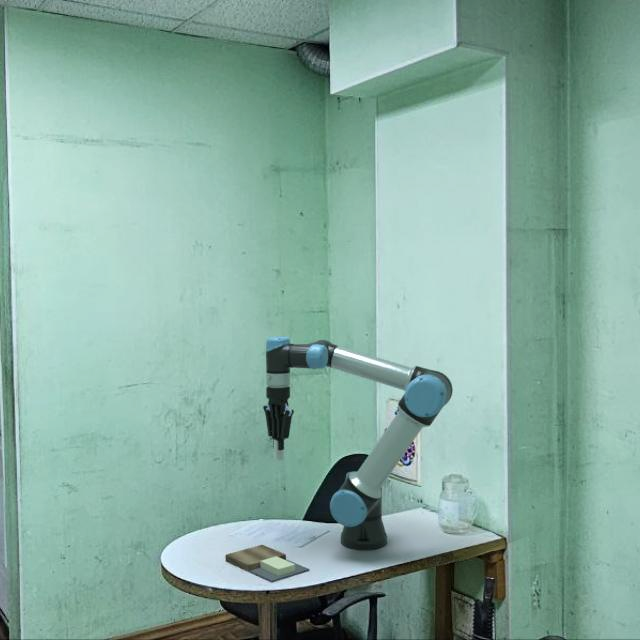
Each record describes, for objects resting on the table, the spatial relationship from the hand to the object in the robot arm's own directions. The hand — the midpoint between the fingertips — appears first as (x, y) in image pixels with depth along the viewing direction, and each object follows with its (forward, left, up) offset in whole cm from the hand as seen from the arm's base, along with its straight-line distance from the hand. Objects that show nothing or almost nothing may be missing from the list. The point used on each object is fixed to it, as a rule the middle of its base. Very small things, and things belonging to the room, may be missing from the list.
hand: (278, 459), depth 265 cm
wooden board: (+13, +5, -28) cm, 32 cm away
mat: (+13, +17, -28) cm, 35 cm away
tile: (+13, +16, -28) cm, 35 cm away
